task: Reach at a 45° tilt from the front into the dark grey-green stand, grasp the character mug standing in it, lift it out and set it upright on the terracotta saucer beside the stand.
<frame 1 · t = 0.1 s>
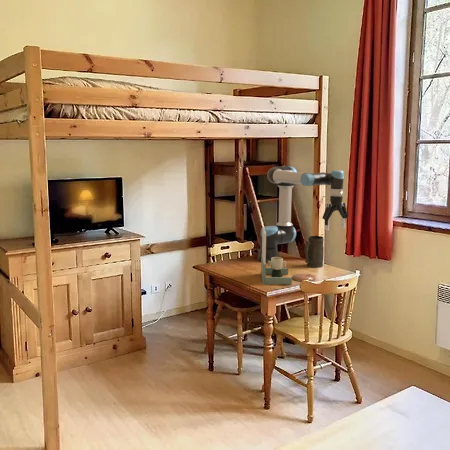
hand: (334, 229, 330), 28 cm above the table, tool pointing down, fingers open, 13 cm apart
terracotta saucer: (304, 278, 320), on the table
beer stein: (313, 266, 351), on the table
character mug: (276, 279, 319), resting in grey-green stand
grey-green stand: (276, 279, 319), on the table
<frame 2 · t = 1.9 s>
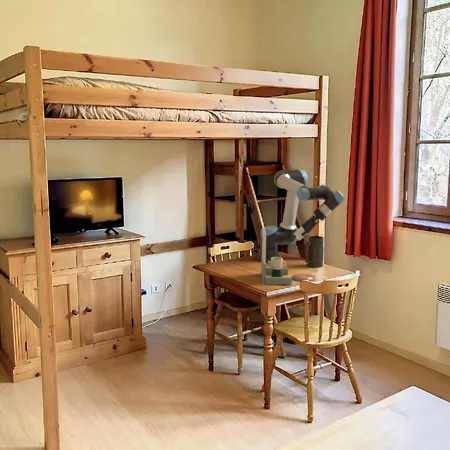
hand: (296, 237, 314), 26 cm above the table, tool tilted 45°, fingers open, 13 cm apart
nothing on the table moved.
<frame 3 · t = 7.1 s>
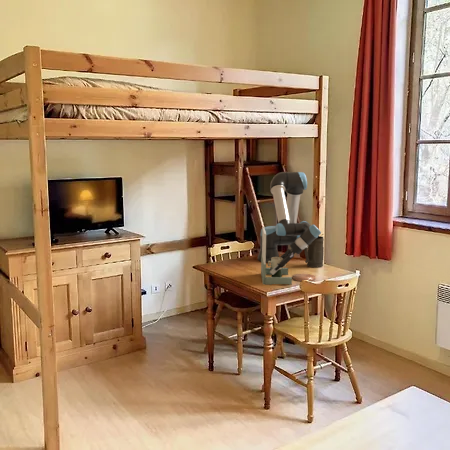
hand: (270, 271, 318), 5 cm above the table, tool tilted 45°, fingers closed on character mug, 7 cm apart
character mug: (276, 279, 319), resting in grey-green stand, touching gripper
everything else where it was.
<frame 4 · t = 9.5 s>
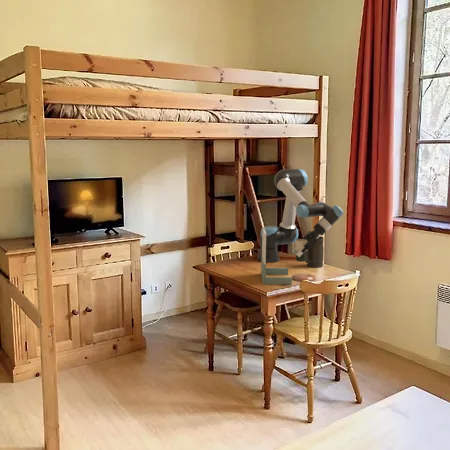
hand: (295, 254, 316), 15 cm above the table, tool tilted 45°, fingers closed on character mug, 7 cm apart
character mug: (300, 261, 318), point 11 cm above the table, touching gripper
everything else where it was.
when the fingers open (7 cm above the table, at t = 12.1 s): character mug drops 1 cm, resting on terracotta saucer.
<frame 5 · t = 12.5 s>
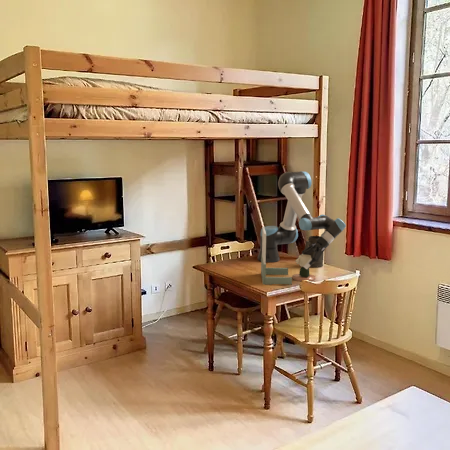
hand: (300, 265, 318), 8 cm above the table, tool tilted 45°, fingers open, 13 cm apart
character mug: (304, 276, 320), point 1 cm above the table, touching terracotta saucer
everything else where it was.
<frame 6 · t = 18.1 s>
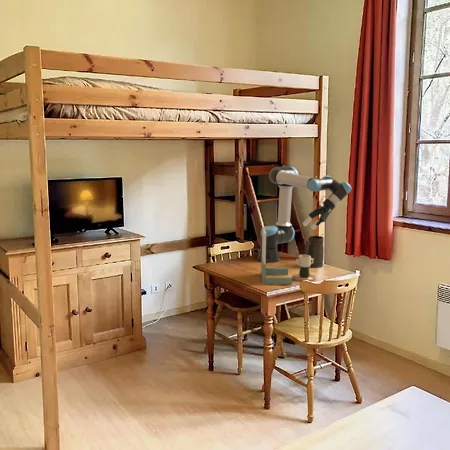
hand: (307, 226, 328), 30 cm above the table, tool tilted 45°, fingers open, 13 cm apart
nothing on the table moved.
at the end: character mug 0.1 cm from the terracotta saucer (horizontally); character mug tilted 0°; character mug touching terracotta saucer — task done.
